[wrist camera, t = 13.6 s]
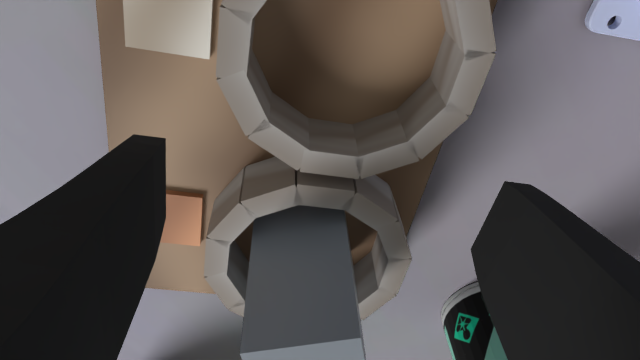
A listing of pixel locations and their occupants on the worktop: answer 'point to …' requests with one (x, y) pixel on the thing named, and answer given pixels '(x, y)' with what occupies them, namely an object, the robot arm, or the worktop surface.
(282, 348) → the plug
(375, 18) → the socket board
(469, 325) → the spray can
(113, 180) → the robot arm
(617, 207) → the worktop surface
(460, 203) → the worktop surface
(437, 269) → the worktop surface
